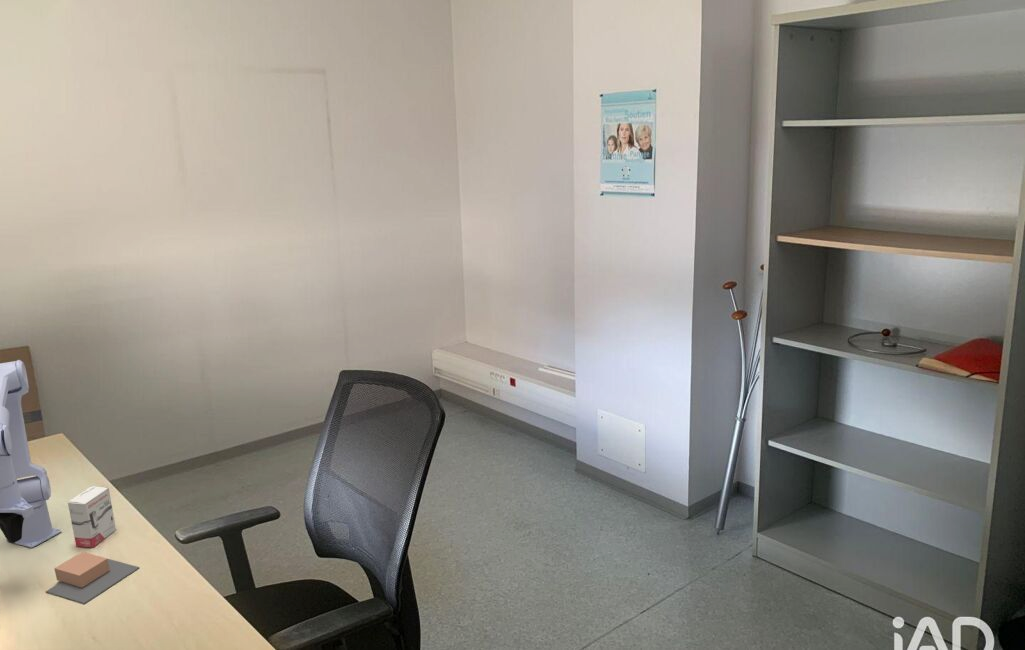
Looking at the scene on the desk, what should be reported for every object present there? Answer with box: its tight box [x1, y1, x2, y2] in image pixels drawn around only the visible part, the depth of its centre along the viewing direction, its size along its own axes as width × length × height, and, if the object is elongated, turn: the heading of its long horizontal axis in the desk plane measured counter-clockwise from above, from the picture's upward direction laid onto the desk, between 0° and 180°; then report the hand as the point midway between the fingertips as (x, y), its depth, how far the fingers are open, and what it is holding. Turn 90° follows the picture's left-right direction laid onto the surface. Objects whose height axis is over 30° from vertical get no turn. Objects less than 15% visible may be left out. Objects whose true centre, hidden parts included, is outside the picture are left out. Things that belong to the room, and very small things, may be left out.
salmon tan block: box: [53, 551, 110, 588], centre depth 174 cm, size 3×7×8 cm
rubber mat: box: [45, 558, 140, 605], centre depth 173 cm, size 12×14×1 cm
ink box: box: [67, 485, 117, 548], centre depth 189 cm, size 9×5×12 cm, turn 168°
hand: (15, 540), depth 170 cm, fingers closed
